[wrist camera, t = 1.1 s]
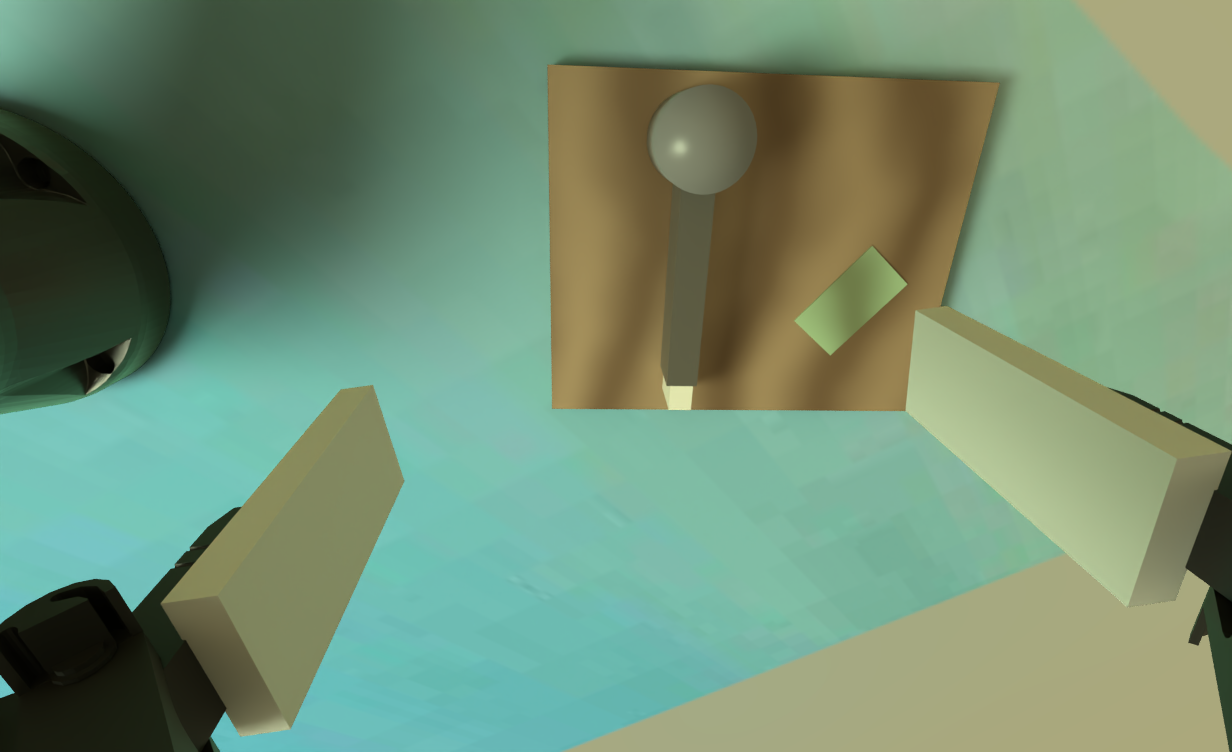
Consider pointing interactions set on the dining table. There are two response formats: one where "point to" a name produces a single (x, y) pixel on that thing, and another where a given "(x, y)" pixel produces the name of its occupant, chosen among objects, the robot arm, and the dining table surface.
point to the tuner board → (759, 237)
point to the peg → (694, 212)
